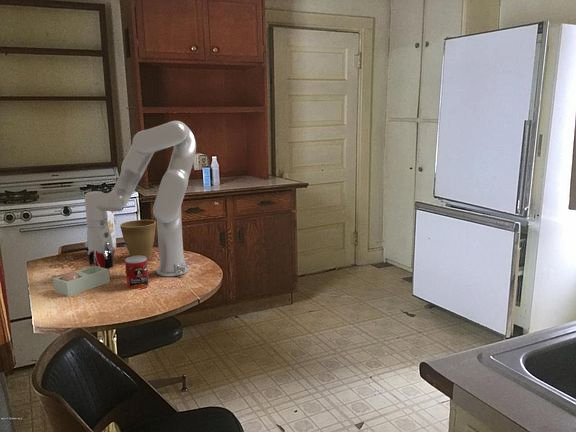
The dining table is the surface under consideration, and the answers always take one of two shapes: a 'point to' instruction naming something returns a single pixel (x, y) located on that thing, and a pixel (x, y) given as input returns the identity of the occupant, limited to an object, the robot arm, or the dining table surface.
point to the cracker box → (111, 227)
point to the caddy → (82, 281)
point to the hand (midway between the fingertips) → (101, 265)
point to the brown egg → (70, 276)
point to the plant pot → (139, 236)
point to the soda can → (99, 259)
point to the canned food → (136, 272)
